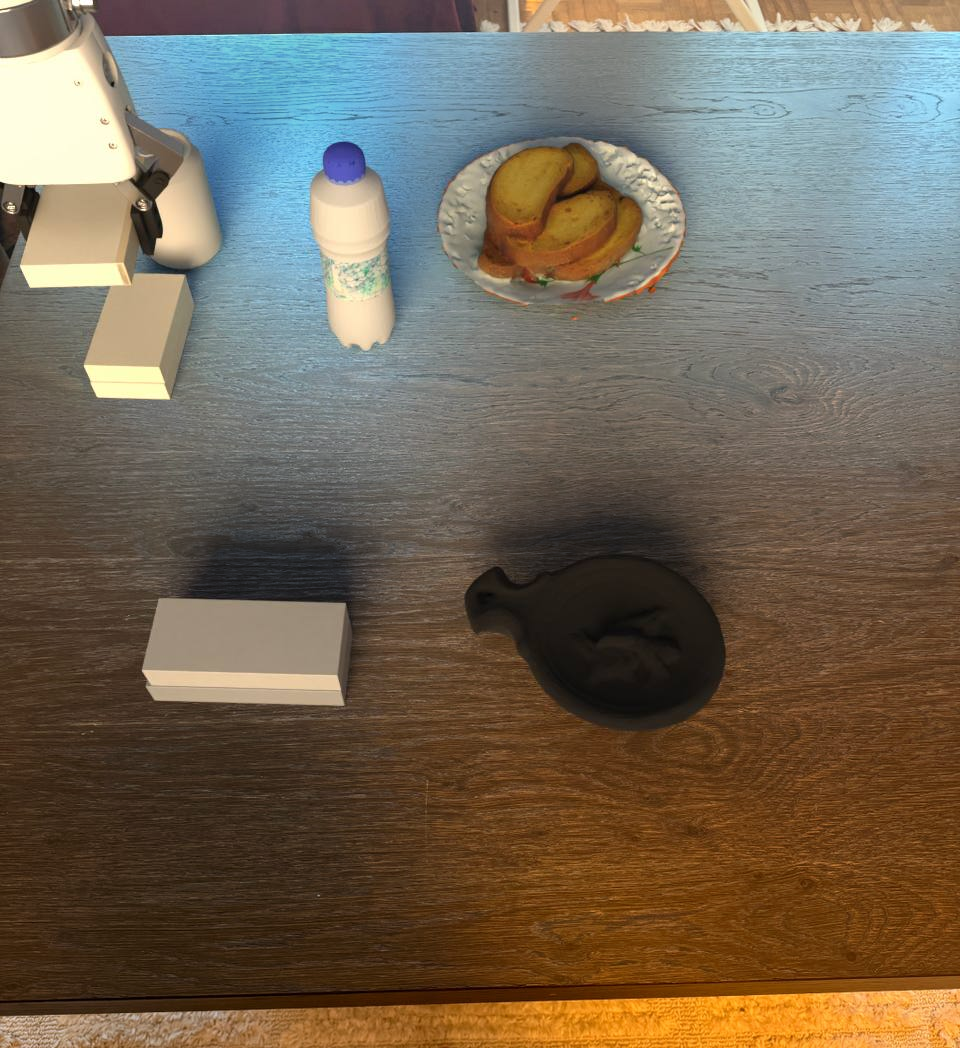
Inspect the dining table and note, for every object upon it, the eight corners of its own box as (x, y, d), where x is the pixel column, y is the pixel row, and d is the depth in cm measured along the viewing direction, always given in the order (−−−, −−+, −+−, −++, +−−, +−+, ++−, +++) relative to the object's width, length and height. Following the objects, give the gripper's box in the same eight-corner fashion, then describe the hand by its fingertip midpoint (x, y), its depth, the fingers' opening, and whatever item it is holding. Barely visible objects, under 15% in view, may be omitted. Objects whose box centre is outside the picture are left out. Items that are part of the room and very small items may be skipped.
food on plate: (712, 302, 95) (728, 250, 89) (464, 337, 92) (464, 285, 86) (638, 146, 109) (647, 92, 103) (420, 171, 106) (417, 117, 100)
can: (237, 257, 97) (211, 153, 87) (168, 285, 95) (133, 181, 85) (205, 216, 101) (176, 112, 91) (137, 242, 98) (101, 138, 88)
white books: (170, 399, 87) (158, 369, 84) (97, 397, 87) (82, 367, 84) (195, 306, 94) (185, 274, 90) (127, 304, 94) (114, 272, 90)
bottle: (359, 298, 94) (336, 112, 78) (413, 327, 92) (402, 142, 76) (314, 338, 91) (280, 154, 75) (369, 369, 89) (347, 186, 73)
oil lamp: (500, 536, 79) (502, 501, 75) (733, 611, 76) (749, 579, 71) (431, 692, 71) (429, 663, 67) (688, 785, 68) (703, 760, 64)
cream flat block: (59, 180, 75) (50, 157, 73) (152, 178, 75) (145, 155, 73) (30, 288, 68) (19, 265, 66) (131, 285, 68) (123, 263, 67)
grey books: (154, 700, 71) (135, 671, 67) (170, 628, 74) (153, 596, 70) (344, 706, 71) (337, 677, 67) (352, 633, 74) (346, 601, 70)
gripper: (164, -25, 60) (220, 209, 75) (-123, -22, 59) (-9, 214, 74) (149, 42, 56) (211, 276, 71) (-159, 45, 55) (-31, 282, 70)
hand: (98, 243), depth 72 cm, fingers closed on cream flat block, 7 cm apart
